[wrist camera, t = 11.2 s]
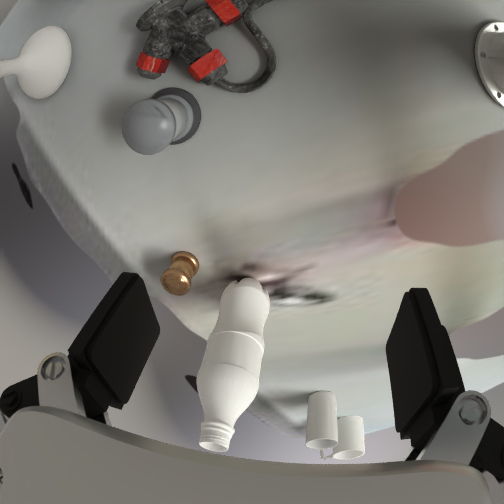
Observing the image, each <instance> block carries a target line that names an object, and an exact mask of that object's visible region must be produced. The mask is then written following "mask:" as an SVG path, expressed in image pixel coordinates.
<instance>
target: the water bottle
mask: <svg viewBox="0 0 504 504" xmlns="http://www.w3.org/2000/svg"><path fill="white" fill-rule="evenodd" d="M219 306H220V308H219V316H218V320H217V323H216V326H215V328H214V330H213V331H212V333H211V334H210V336H209V338H208V341H207V348H206V351H205V354H204V358H203V361H202V365H201V368H200V370H199V371H198V375H197V389H198V393H199V397H200V400H201V404H202V407H203V410H204V422H202V423H201V428H202V429H201V433H202V434H201V437H200V441H199V444H200V446H201V447H203V448H205V449H208V450H211V451H217V452H224V451H227V450H228V449H229V443H230V439H231V438H232V435H233V434H234V428H233V426H234V424H235V422H236V420H237V418H238V417H239V416H240V415H241V414H242V413H243V412H244V411H245V410H246V408H247V407H248V406H249V405H250V404H251V402H252V401H253V400H254V398H255V396H256V394H257V391H258V388H259V375H260V367H261V360H262V356H263V353H264V341H263V328H264V324H265V321H266V319H267V316H268V313H269V306H270V300H269V295H268V292H267V291H266V290H265V289H262V286H261V284H260V283H259V282H258V281H257V280H255V279H253V278H244V279H242V280H241V281H240V282H239V283H238V282H237V280H235V281H232V282H231V283H230V284H229V285H228V286H227V287H226V288H225V290H224V291H223V293H222V296H221V299H220V302H219Z"/></svg>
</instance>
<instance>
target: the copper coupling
mask: <svg viewBox="0 0 504 504" xmlns="http://www.w3.org/2000/svg"><path fill="white" fill-rule="evenodd" d="M198 269H199V262H198V260H197V258H196V257H195V256H194V255H193V254H191V253H189V252H185V251H181V252H178V253H176V254H175V255H174V256H173V258H172V260H171V266H170V267H169V269H167V270H166V271H165V272H164V273H163V275H162V277H161V283H162V286H163V287H164V289H165V290H166V291H168V292H169V293H171V294H174V295H184V294H186V293H187V292H188V291H189V289H190V286H191V279H192V277H193V276H194V275H195V274H196V273H197V271H198Z"/></svg>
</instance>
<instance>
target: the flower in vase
mask: <svg viewBox="0 0 504 504" xmlns="http://www.w3.org/2000/svg"><path fill="white" fill-rule="evenodd" d="M71 57H72V49H71V43H70V40H69V38H68V36H67V34H66V33H65V31H64V30H63V29H62V28H60V27H58V26H53V25H52V26H46V27H44V28H42V29H39V30H38V31H36V32H35V33H34V34H32V35H31V36H30V38H29V39H28V40H27V41H26V43H25V44H24V46H23V47H22V49H21V52H20V54H19V57H17V58H15V59H10V60H0V78H2V77H5V76H9V75H17V79H18V83H19V85H20V87H21V88H22V90H23V91H24V93H25V94H27V95H28V96H29V97H32V98H35V99H44V98H47V97H49V96H51V95H52V94H53V93H55V92H56V91H57V90H58V88H59V87H60V86H61V84H62V83H63V81H64V80H65V78H66V76H67V73H68V71H69V68H70V64H71Z"/></svg>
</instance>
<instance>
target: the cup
mask: <svg viewBox="0 0 504 504" xmlns="http://www.w3.org/2000/svg"><path fill="white" fill-rule="evenodd" d="M337 427H338V444H337V445H336V446H334V447H333V454H331V455H329V456H326V457H324V452H323V449H320V454H321V458H323V459H330V458H335V459H341V460H345V459H353V458H357V457H360V456H362V455H364V454H365V444H364V427H363V419H362V418H361V417H359V416H344V417H341V418H338V419H337Z"/></svg>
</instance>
